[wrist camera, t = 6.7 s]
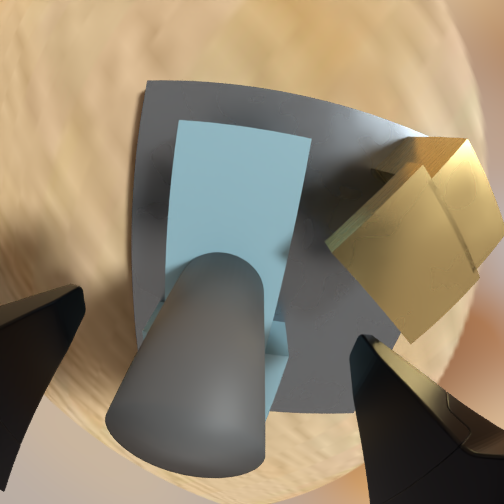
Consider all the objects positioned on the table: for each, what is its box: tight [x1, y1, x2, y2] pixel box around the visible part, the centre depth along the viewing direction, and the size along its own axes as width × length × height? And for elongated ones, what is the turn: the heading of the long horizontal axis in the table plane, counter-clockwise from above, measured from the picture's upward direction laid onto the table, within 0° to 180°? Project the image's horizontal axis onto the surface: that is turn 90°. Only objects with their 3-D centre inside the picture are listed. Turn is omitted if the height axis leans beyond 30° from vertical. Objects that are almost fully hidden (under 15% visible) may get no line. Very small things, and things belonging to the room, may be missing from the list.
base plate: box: [132, 80, 504, 413], centre depth 11 cm, size 17×14×5 cm
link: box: [105, 120, 312, 478], centre depth 8 cm, size 14×6×8 cm, turn 171°
